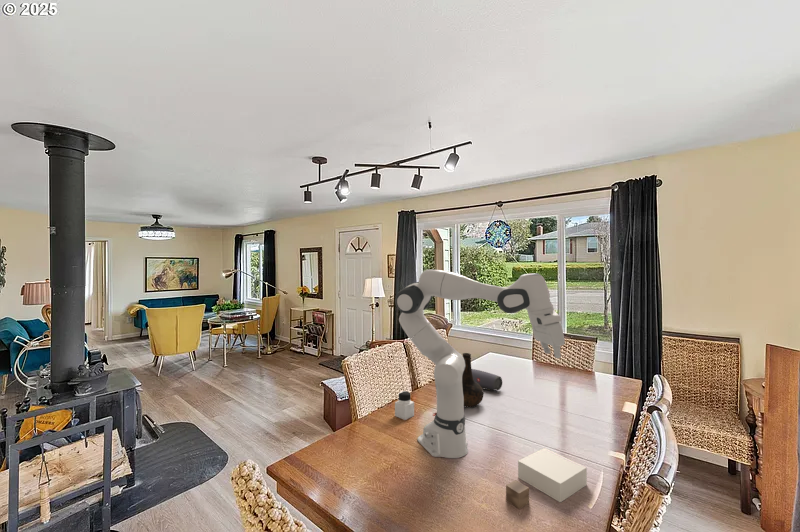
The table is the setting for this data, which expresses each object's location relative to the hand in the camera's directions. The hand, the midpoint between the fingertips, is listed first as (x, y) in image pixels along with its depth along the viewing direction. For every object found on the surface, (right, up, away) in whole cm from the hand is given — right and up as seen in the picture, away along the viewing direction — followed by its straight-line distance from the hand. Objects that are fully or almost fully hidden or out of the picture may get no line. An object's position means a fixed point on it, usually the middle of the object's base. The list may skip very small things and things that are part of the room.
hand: (552, 355), depth 123 cm
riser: (-1, -44, -1) cm, 44 cm away
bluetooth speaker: (-2, -45, +95) cm, 105 cm away
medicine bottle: (-52, -44, +53) cm, 86 cm away
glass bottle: (-17, -45, +68) cm, 83 cm away
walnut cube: (-16, -44, -12) cm, 48 cm away
